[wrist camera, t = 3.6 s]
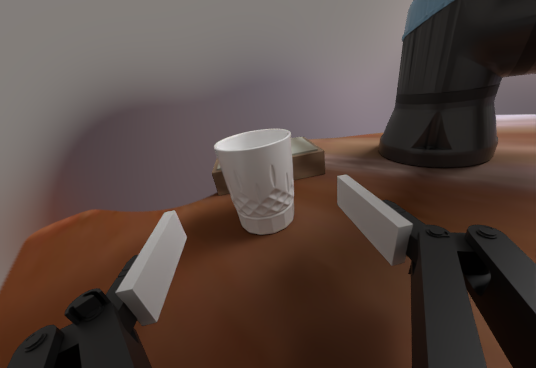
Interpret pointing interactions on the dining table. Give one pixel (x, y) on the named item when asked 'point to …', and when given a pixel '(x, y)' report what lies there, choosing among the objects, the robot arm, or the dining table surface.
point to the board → (303, 156)
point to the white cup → (259, 178)
